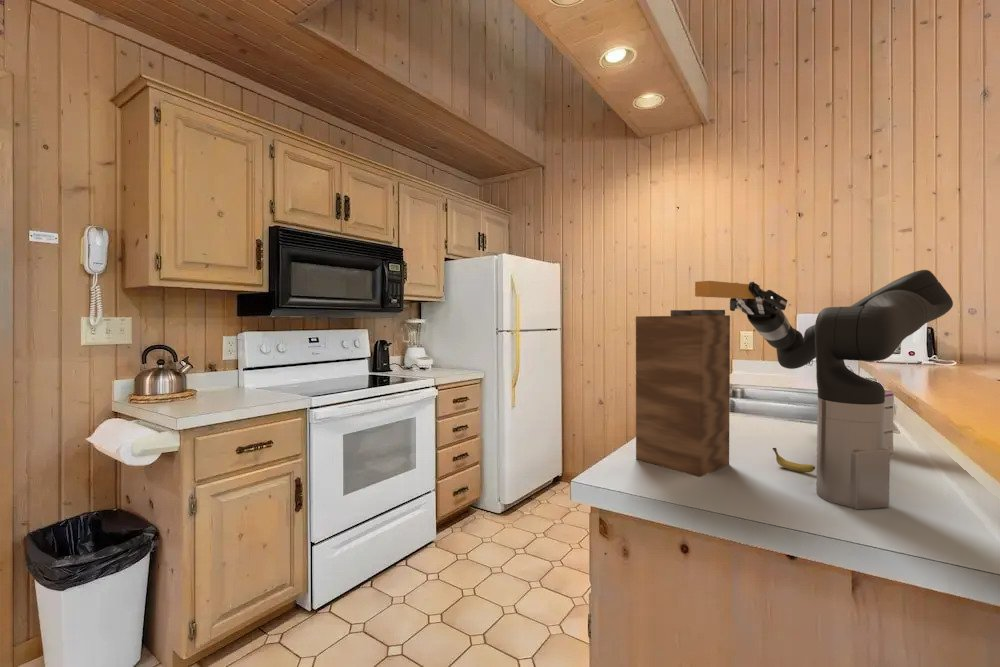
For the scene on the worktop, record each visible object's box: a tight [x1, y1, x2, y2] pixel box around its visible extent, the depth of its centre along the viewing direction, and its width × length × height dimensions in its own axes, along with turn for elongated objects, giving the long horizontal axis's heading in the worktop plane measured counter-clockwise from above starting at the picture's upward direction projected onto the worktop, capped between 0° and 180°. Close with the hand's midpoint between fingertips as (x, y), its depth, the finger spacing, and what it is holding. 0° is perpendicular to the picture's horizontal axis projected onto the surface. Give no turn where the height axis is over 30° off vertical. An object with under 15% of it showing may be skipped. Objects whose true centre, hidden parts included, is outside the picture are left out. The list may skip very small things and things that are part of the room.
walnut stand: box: [635, 309, 731, 478], centre depth 101 cm, size 12×15×33 cm
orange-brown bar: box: [694, 280, 761, 299], centre depth 108 cm, size 24×3×3 cm, turn 128°
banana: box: [772, 447, 816, 473], centre depth 96 cm, size 8×2×4 cm, turn 32°
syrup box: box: [884, 389, 895, 454], centre depth 108 cm, size 6×6×14 cm
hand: (742, 285), depth 112 cm, fingers closed on orange-brown bar, 3 cm apart
